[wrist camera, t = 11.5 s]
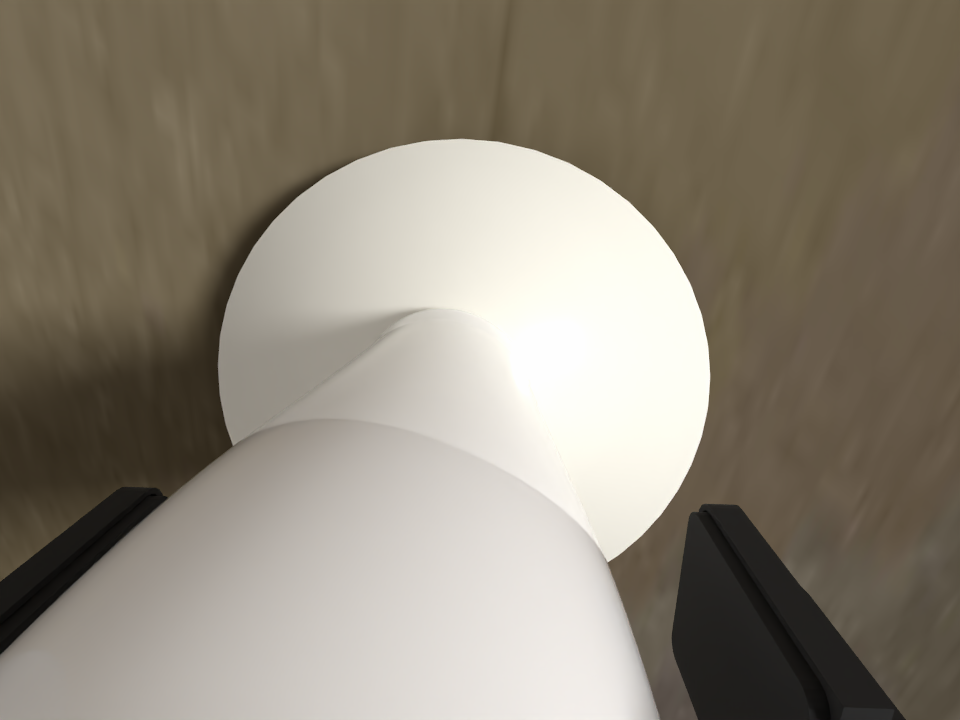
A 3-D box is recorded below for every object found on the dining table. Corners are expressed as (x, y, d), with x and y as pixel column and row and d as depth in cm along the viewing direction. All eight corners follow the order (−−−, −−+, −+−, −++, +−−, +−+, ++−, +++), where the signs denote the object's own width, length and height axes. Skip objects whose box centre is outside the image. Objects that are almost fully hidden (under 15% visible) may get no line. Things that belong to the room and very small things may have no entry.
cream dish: (211, 140, 17) (185, 135, 16) (725, 146, 17) (746, 142, 15) (262, 569, 22) (246, 595, 20) (666, 583, 22) (677, 611, 20)
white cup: (436, 513, 19) (254, 1463, 5) (299, 370, 18) (-524, 1107, 3) (593, 399, 18) (996, 1258, 3) (458, 234, 16) (187, 518, 2)
